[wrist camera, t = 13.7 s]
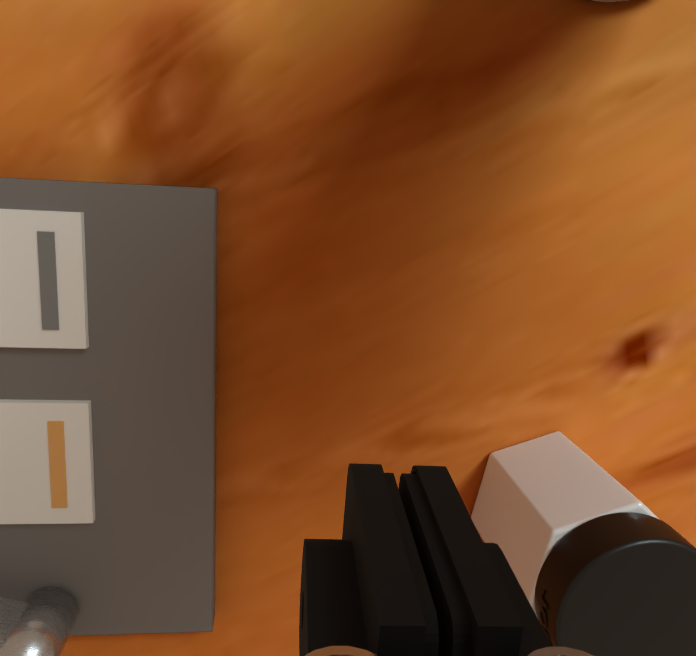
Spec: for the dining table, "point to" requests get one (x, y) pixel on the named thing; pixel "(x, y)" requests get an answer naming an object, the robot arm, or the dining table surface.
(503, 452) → the jar
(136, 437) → the label board
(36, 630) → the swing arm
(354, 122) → the dining table surface
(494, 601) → the robot arm
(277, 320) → the dining table surface
